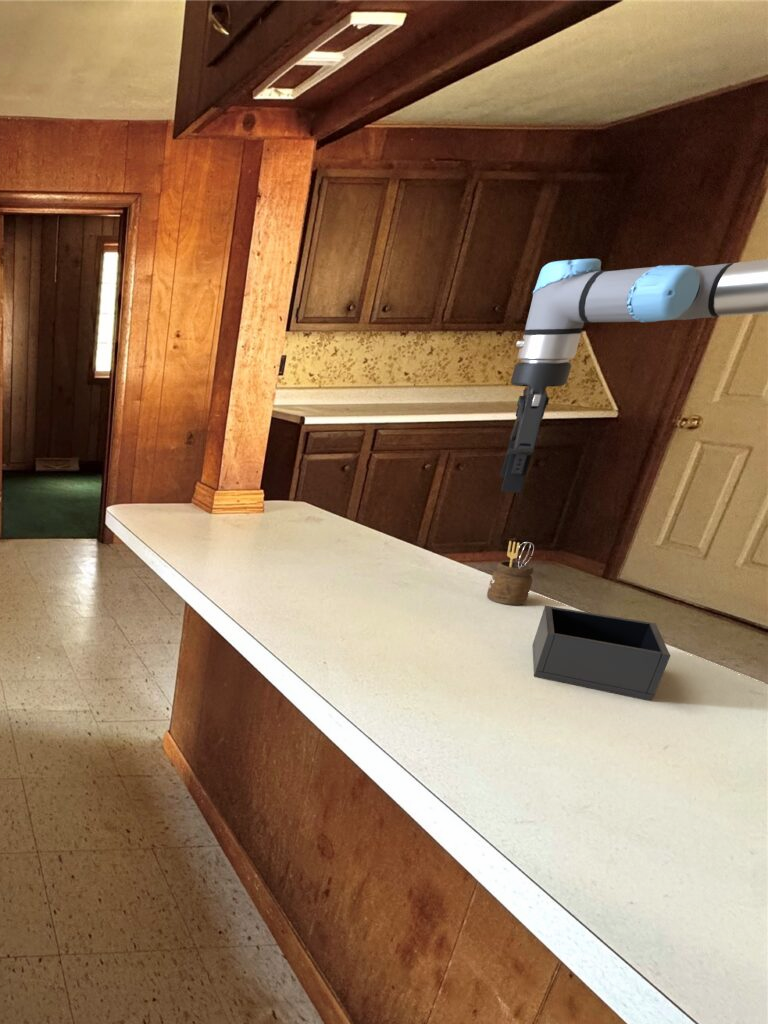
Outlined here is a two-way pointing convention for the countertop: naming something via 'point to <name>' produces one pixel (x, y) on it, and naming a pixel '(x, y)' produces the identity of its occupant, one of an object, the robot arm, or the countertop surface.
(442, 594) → the countertop surface
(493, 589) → the utensil holder
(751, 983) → the countertop surface
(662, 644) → the dark grey open box
